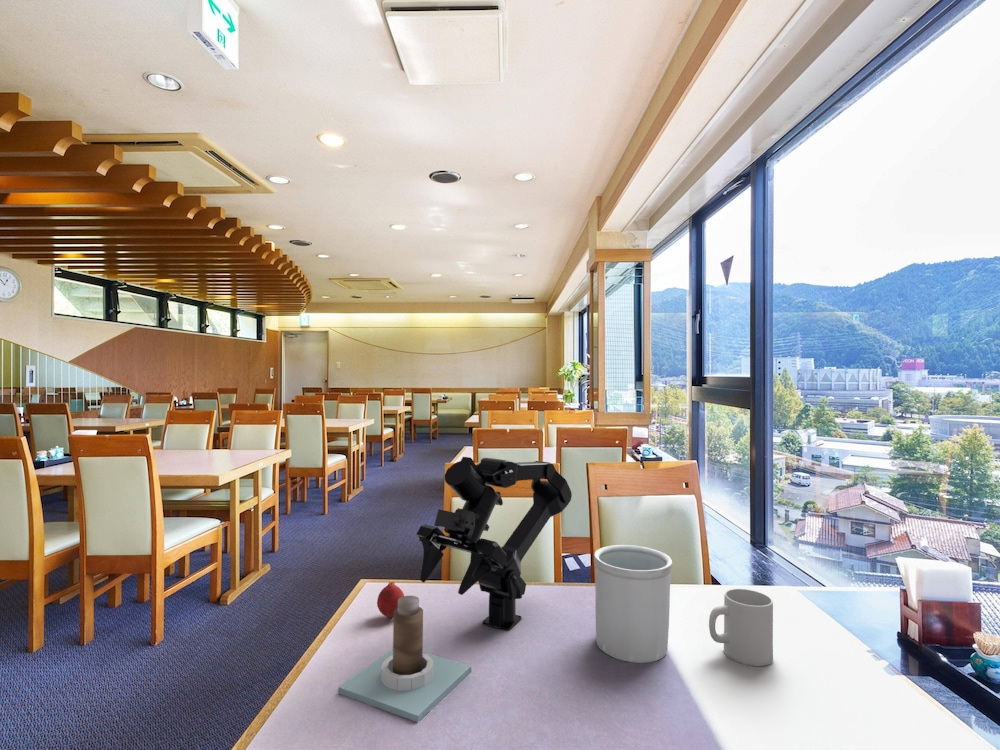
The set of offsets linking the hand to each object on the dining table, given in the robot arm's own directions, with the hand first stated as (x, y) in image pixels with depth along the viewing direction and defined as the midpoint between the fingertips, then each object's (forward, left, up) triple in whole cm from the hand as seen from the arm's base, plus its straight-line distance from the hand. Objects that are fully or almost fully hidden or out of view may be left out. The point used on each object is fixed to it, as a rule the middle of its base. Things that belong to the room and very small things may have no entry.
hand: (440, 587), depth 99 cm
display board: (+9, -1, -13) cm, 16 cm away
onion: (-9, -19, -14) cm, 25 cm away
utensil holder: (-22, +30, -14) cm, 40 cm away
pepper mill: (+8, -1, -12) cm, 15 cm away
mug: (-28, +49, -14) cm, 58 cm away
